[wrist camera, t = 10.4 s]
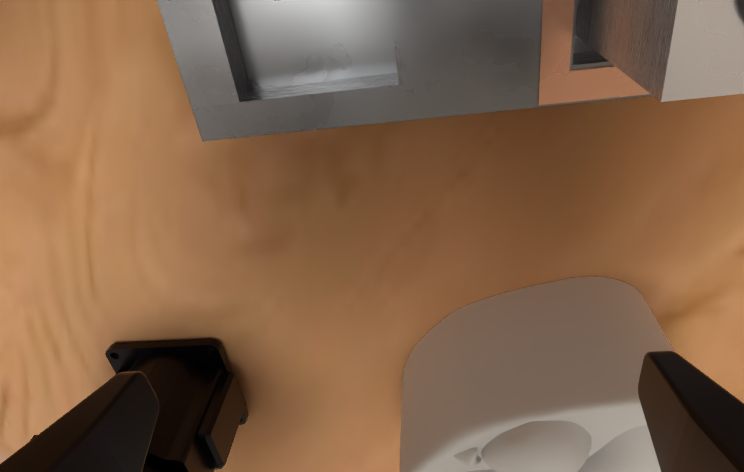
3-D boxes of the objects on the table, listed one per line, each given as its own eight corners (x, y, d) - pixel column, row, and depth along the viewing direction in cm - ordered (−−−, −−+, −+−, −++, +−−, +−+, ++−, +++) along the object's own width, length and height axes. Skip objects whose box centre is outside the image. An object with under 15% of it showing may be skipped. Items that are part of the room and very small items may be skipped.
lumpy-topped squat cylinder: (664, 404, 28) (753, 581, 20) (436, 447, 31) (443, 612, 24) (636, 256, 23) (741, 419, 15) (369, 327, 26) (351, 488, 19)
